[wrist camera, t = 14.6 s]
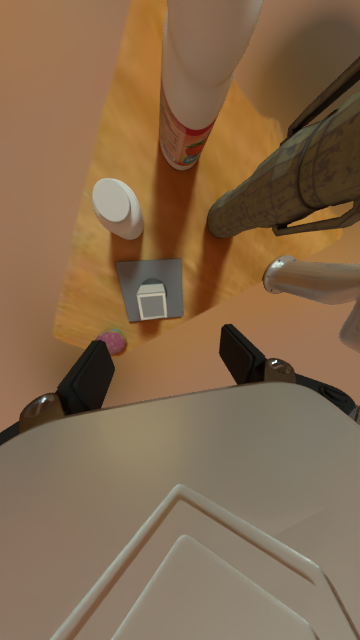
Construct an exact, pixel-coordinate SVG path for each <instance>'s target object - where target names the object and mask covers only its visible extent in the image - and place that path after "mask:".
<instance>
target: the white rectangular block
mask: <svg viewBox="0 0 360 640" xmlns="http://www.w3.org/2000/svg"><path fill="white" fill-rule="evenodd" d="M137 300H138V305H139V310H140V316H141V320H148V319H157V318H167V308H166V298H165V290H164V287H163V283H161V284H148V285H140V288H139V290H138V293H137Z"/></svg>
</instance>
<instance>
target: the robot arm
mask: <svg viewBox="0 0 360 640" xmlns="http://www.w3.org/2000/svg"><path fill="white" fill-rule="evenodd" d="M263 284H264V287H265V289H266V290H267V291H268V292H270V293H274V294H278V293H282V292H286V293H289V294H293V295H296V296H300V297H303V298H306V299H310V300H313V301H317V302H321V303H324V304H329V305H335V304H343V303H347V302H351V301H355V300H356V304H355V306H354V307H353V310H352V311H351V313H350V315H349V316H348V318H347V320H346V321H345V323H344V324H343V326H342V328H341V330H340V332H339V339H340V341H341V342H342V343H343V344H344V345H346V346H347V347H349V348H351V349H353V350H355V351H357V352H359V353H360V264H343V263H341V264H340V263H323V262H303V261H298V260H297V259H296V258H295V257H293V256H289V255H285V256H281V257H279V258H277V259H275V260H274V261H273V262H272V263H271V264H270V265H269V266H268V268H267V270H266V272H265V274H264V278H263ZM219 354H220V357H221V358H222V360H223V362H224V363H225V365H226V367H227V368H228V370H229V371H230V373H231V375H232V376H233V378H234V380H235V381H236V383H237V385H234V386H228V387H221V388H215V389H209V390H203V391H197V392H192V393H186V394H180V395H174V396H168V397H163V398H157V399H151V400H145V401H140V402H134V403H129V404H123V405H118V406H112V407H107V408H101V406H102V404H103V401H104V398H105V396H106V393H107V390H108V388H109V385H110V382H111V380H112V377H113V374H114V371H115V367H114V364H113V361H112V359H111V356H110V353H109V351H108V348H107V345H106V343H105V341H102V340H94V341H92V342H91V343H90V345H89V346H88V347H87V349H86V350H85V352H84V353H83V354H82V356H81V357H80V358H79V359H78V361H77V362H76V363H75V365H74V366H73V367H72V368H71V370H70V371H69V372H68V374H67V375H66V377H65V378H64V379H63V380H62V382H61V383H60V384H59V386H58V387H57V388H58V390H57V391H56V392H55V393H53V392H52V393H47V394H44V395H42V396H39V397H38V398H36V399H35V400H33V401H32V402H30V403H29V404H28V405H27V406H26V407H25V408H24V409H23V411H22V412H21V414H20V418H19V421H18V422H16V423H15V424H13V425H12V426H10V427H8V428H7V429H5V430H4V431H2V432H1V433H0V640H360V405H359V406H358V405H356V404H355V403H354V401H353V400H352V399H351V398H350V397H349V396H348V395H347V394H346V393H344V392H343V391H341V390H339V389H338V388H335V387H333V386H330V385H328V384H325V383H322V382H319V381H316V380H313V379H310V378H308V377H304V376H302V375H299V374H296V373H295V372H294V369H293V367H292V366H291V365H290V364H288V363H287V362H285V361H283V360H280V359H276V358H270V359H268V360H267V359H266V358H265V355H263V353H262V352H260V351H259V350H258V349H257V348H256V347H255V346H254V345H253V344H252V343H251V342H250V341H249V340H248V339H247V338H246V337H245V336H244V335H243V334H242V333H240V331H238V330H237V329H236V328H235V327H234V326H233V325H232V324H225V325H224V326H223V327H222V329H221V339H220V349H219Z"/></svg>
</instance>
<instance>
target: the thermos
mask: <svg viewBox="0 0 360 640" xmlns="http://www.w3.org/2000/svg"><path fill="white" fill-rule="evenodd" d="M359 80H360V57H359V58H358V59H357V60H355V61H354V62H353V63H352V64H351V65H350V66H349V67H348V68H347V69H346V70H345V71H344V72H343V73H342V74H341V75H340V76H339V77H338V78H337V79H336V80H335V81H334V82H333V83H332V84H331V85H330V86H329V87H327V88H326V89H325V91H323V92H322V93H321V94H320V95H319V96H318V97H317V98H316V99H315V100H314V101H313V102H312V103H311V104H310V105H309V106H308V107H307V108H306V109H305V110H304V111H303V112H302V113H301V114H300V115H299V117H298V118H297V119H296V120H295V121H294V122H293V123H292V124H291V125H290V126H289V128H288V134H287V138H286V139H285V140H284V141H283V142H281V143H280V147H279V148H278V149H277V150H276V151H275V152H273V153H272V154H271V155H270V156H269V157H268V158H266V159H265V160H264V161H263V162H262V163H261V164H260V165H259V166H258V168H257V169H256V170H255V172H254V173H253V175H252V176H250V177H249V178H248V179H247V180H245V181H244V182H243V183H242V184H241V185H239V186H238V187H237V188H236V189H234V190H232V191H228V192H226V193H225V194H224V195H223V196H222V197H220V198H219V199H218V200H217V201H216V202H215V204H213V206H212V207H211V208H210V210H209V213H208V216H207V226H208V229H209V231H210V233H211V234H212V235H213V236H214V237H216V238H228V237H232V236H235V235H237V234H239V233H241V232H242V231H246V230H249V229H253V228H257V227H260V228H270V227H272V230H273V232H274V234H275V235H276V236H282V235H288V234H295V233H301V232H310V231H319V230H328V229H337V228H345V227H348V226H351V225H353V224H354V223H356V222H358V221H359V220H360V90H359V91H358V92H357V93H356V94H354V95H353V96H352V97H351V98H349V99H348V100H347V101H346V102H344V103H343V104H342V106H341V107H340V108H339V109H337V110H334V111H333V112H332V113H331V114H329V115H328V116H327V117H325V118H324V119H323V120H322V121H319V122H316V123H314V124H311V125H309V126H306V125H307V124H308V123H309V122H311V121H312V120H313V119H314V118H315V117H316V116H317V115H318V114H320V113H321V112H322V111H323V110H324V109H326V108H327V107H328V106H329V105H330V104H332V103H333V102H334V101H335V100H336V99H337V98H339V97H340V96H341V95H342V94H343V93H344V92H346V91H347V90H348V89H349V88H350V87H351V86H353V85H354V84H355V83H356V82H357V81H359ZM304 126H306V127H304ZM302 127H303V128H302ZM350 201H354V204H353V208H352V209H350V210H349V211H348V212H346V213H345V214H344V215H342V216H341V217H337V218H332V219H327V220H322V221H317V222H312V223H307V224H302V225H297V226H292V227H287V225H288V224H291V223H292V222H295V221H298V220H301V219H304V218H305V217H307V216H308V215H310V214H312V213H313V212H315V211H317V210H321V209H324V208H327V207H328V206H336V205H339V204H343V203H347V202H350Z"/></svg>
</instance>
